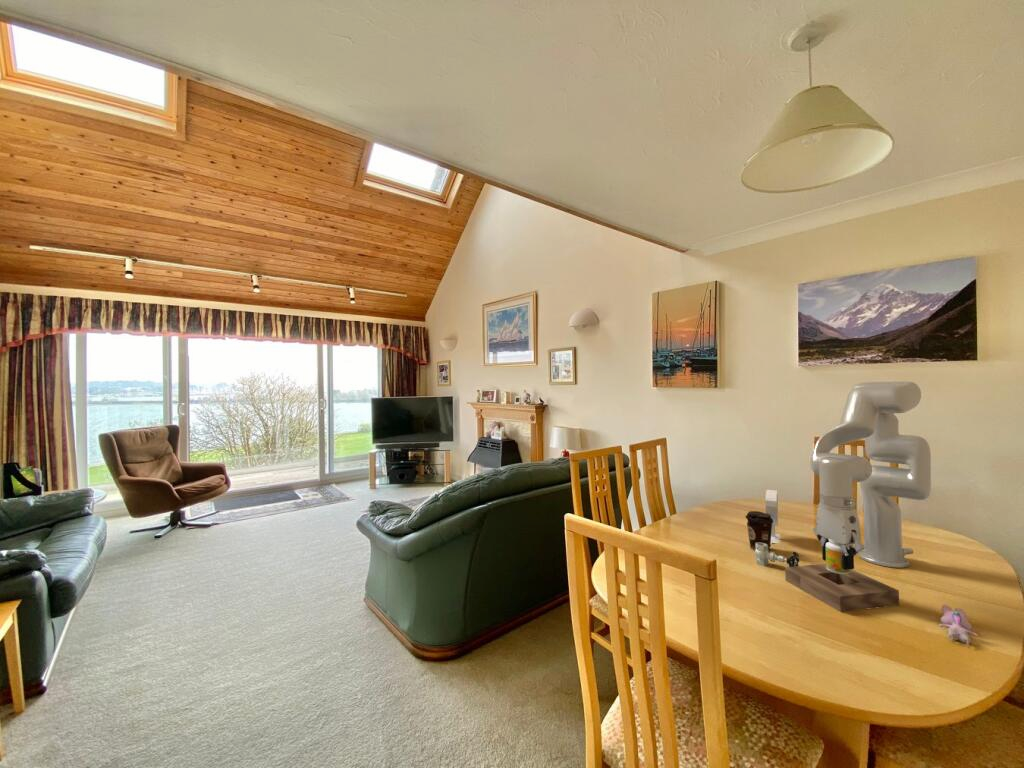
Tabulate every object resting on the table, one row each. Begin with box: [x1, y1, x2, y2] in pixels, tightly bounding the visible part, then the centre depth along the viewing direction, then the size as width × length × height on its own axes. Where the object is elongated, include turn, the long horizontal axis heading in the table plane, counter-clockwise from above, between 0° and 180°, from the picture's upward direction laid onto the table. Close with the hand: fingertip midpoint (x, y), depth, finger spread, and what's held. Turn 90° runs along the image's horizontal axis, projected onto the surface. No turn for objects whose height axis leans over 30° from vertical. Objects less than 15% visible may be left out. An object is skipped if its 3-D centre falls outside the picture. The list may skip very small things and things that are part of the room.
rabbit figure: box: [938, 604, 979, 649], centre depth 99 cm, size 6×6×15 cm
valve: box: [754, 542, 801, 567], centre depth 135 cm, size 7×7×12 cm
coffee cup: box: [745, 510, 773, 552], centre depth 150 cm, size 9×8×13 cm
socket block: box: [784, 563, 900, 613], centre depth 118 cm, size 18×18×4 cm
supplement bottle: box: [825, 539, 850, 574], centre depth 118 cm, size 5×5×10 cm
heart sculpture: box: [765, 489, 781, 544], centre depth 161 cm, size 16×5×18 cm, turn 146°
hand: (837, 563), depth 118 cm, fingers closed on supplement bottle, 5 cm apart
